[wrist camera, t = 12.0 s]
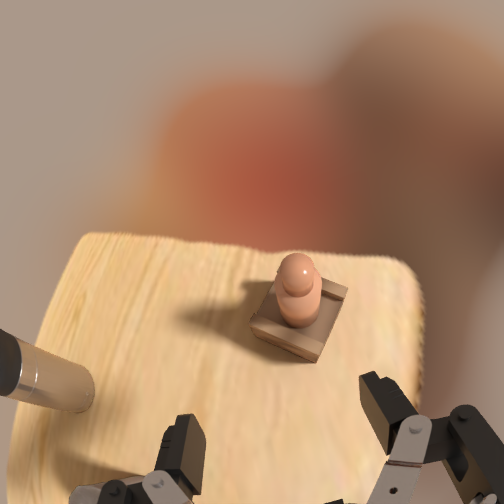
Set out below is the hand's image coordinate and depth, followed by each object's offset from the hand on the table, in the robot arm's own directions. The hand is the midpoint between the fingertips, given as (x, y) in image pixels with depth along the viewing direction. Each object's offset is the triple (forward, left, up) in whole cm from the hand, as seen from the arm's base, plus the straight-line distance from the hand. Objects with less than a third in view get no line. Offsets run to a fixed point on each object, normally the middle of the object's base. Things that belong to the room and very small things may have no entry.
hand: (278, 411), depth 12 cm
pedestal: (-5, +13, -29) cm, 32 cm away
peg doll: (-5, +13, -24) cm, 27 cm away
